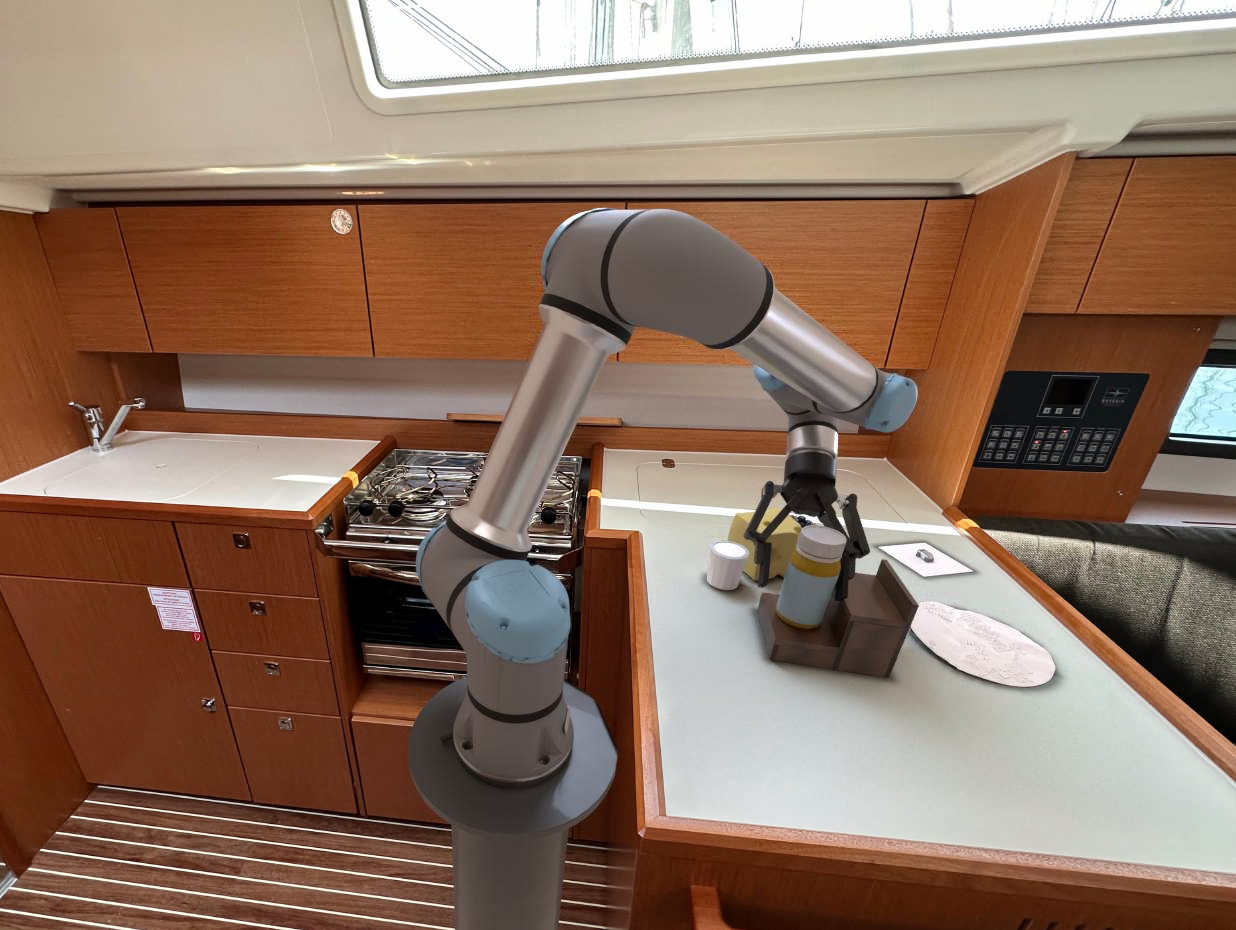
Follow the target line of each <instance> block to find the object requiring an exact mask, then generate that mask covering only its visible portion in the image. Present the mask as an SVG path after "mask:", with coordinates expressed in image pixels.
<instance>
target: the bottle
mask: <svg viewBox="0 0 1236 930" xmlns="http://www.w3.org/2000/svg"><path fill="white" fill-rule="evenodd" d="M817 525H818V524H817ZM817 525H810V526H805V527H803V528H802V530H801V532H800V536H799V539H798V544H797V546H796V549H795V550H794V552H793V553H792V554H791V557H790V560H789V563H788V567H787V570H786V574H785V577H783V581H782V584H781V588H780V591H779V594H778V595H779V599H778V602H777V607H776V612H777V614H778V616H779V617H780V619H781V620H782V621H783V622H785V623H786V624H788V625H790V626H792V627H795V628H799V629H805V630H808V629H814V628H816V627H819V626H821V625H822V623H823V621H824V619H825V616H826V613H827V610H828V607H829V604H830V600H831V597H832V594H833V591H834V588H835V585H836V582H837V579H838V576H839V573H840V570H841V564H840V559H841V557H842V553H843V551H844V548H845V545H846V537H845V536H844V535H843V534H842V533H840V532H838V531H836V530H834V529H831V528H828V527H824V525H819V526H817Z"/></svg>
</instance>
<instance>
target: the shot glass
mask: <svg viewBox="0 0 1236 930" xmlns="http://www.w3.org/2000/svg"><path fill="white" fill-rule="evenodd" d="M748 556H749V551H748V549H746V548H745V547H744V546H742V545H740V544H738V543H734V542H730V541H728V540H716V541H714V542H712V543H711V544H710V546H709V553H708V561H707V562H708V563H707V575H706V581H707V583H708V584H709V585H710V586H712V587H714V588H716V589H719V590H723V591H732V590H735V589H737V588H738V587H739V584H740V581H741V578H742V575H743V572H744V571H743V570H744V567H745V564H746V561H747V559H748Z"/></svg>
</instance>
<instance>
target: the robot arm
mask: <svg viewBox="0 0 1236 930" xmlns="http://www.w3.org/2000/svg"><path fill="white" fill-rule="evenodd" d="M540 266H541V267H540V273H541V276H542V279H543V281H542V285H543V289H544V293H543V295H542V297H541V300H540V302H539V305H538V307H537V310H538V312H539V315H540V319H541V321H542V329H541V332H540V334H539V336H538V339H537V341H536V343H535V345H534V348H533V350H532V352H531V355H530V356H529V360H528V362H527V364H526V366H525V368H524V371H523V374H522V375H521V378H520V380H519V383H518V385H517V387H516V389H515V392H514V394H513V396H512V398H511V400H510V403H509V406H508V408H507V410H506V412H505V414H504V417H503V419H502V422H501V424H500V426H499V429H498V431H497V433H496V436H495V438H494V440H493V442H492V444H491V447H490V449H489V452H488V454H487V456H486V458H485V461H484V463H483V465H482V468H481V469H480V472H479V475H478V477H477V479H476V481H475V484H474V486H473V489H472V490H471V493H470V495H469V497H468V500H467V502H466V503H465V504H462V505H459V506H457V507H454V508H452V509H451V511H450V512H449V514H448V516H447V519H446V520H444V521H442V522H440V523H439V526H437V527H433V528H431V529H430V530H429V531H428V532H427V534H426V535H425V536H424V537H423V539H422V540H421V542H420V543H419V547H418V548H417V549H418V550H417V552H416V557H415V572H416V576H417V579H418V582H419V584H420V586H421V590H422V592H423V593H424V595H425V596H426V599H427V600H428V602H430V603H431V605H432V606H434V608H435V609H436V611H437V613H438V614H439V615H440V617H441V619H442V620H443V621H444V622H445V624H446V626H447V627H448V628H449V630H450V631H451V633H452V634H453V635H454V637H455V639H456V640H457V642H458V643H459V644H460V646H461V648H462V649H463V651H464V654H465V657H466V677H467V693H466V695H465V697H464V700H463V702H462V705H461V707H460V709H459V712H458V714H457V717H456V720H455V723H454V728H453V731H452V732H450V733H447V734H445V735H442V736H441V741H442V742H445V741H448V740H450V739H454V750H455V753H456V756H457V758H458V760H459V762H460V763H461V765H462V766H463V767H464V768H465V769H466V771H467V772H469V773H470V774H471V775H472V776H474V777H475V778H477V779H478V780H480V781H482V782H484V783H486V784H489V785H492V786H496V787H500V788H508V789H520V788H528V787H532V786H536V785H539V784H541V783H544V782H546V781H548V780H550V779H551V778H553V777H554V776H555V775H557V774H558V773H559V772H560V771H561V770H562V769H563V768H564V767H565V765H566V764H567V762H568V760H569V758H570V756H571V753H572V748H573V738H574V729H573V724H572V720H571V717H570V713H571V710H570V707H569V706H568V708H567V705H566V702H565V699H564V696H563V685H564V680H565V675H566V674H565V673H566V664H567V654H568V642H569V634H570V631H571V626H572V625H571V624H572V623H571V614H570V613H571V612H570V599H569V595H568V592H567V590H566V587H565V586H564V584H563V583H562V581H561V580H560V579H559V578H558V577H557V575H555V574H554V573H552V572H551V571H550V570H548V569H547V568H546V567H543V566H542V565H540V564H535V565H531V564H530V562H529V561H527V559H528V556H529V554H530V552H531V550H532V547H533V543H532V539H531V538H530V535H529V533H528V530H529V527H530V525H531V523H532V522H533V521H532V520H533V518H534V516H535V514H536V513H537V510H538V508H539V505H540V503H541V501H542V499H543V497H544V495H545V493H546V490H547V489H548V486H549V484H550V482H551V479H552V477H553V475H554V473H555V470H556V469H557V467H558V465H559V462H560V460H561V458H562V456H563V454H564V451H565V449H566V447H567V445H568V444H569V441H570V439H571V436H572V434H573V432H574V430H575V428H576V426H577V424H578V422H579V419H580V418H581V415H582V413H583V410H584V409H585V406H586V405H587V402H588V400H589V398H590V396H591V394H592V391H593V389H594V388H595V385H596V383H597V381H598V379H599V376H600V375H601V372H602V369H603V368H604V366H605V363H606V361H607V360H608V359H609V358H610V356H612V355H614V354H617V353H619V352H622V351H624V350H626V349H627V346H628V345H629V342H630V340H631V338H632V336H633V334H634V332H635V329H636V327H637V328H643V329H648V330H653V331H656V332H657V331H658V332H662V333H666V334H671V335H675V336H679V337H683V338H686V339H689V340H693V341H695V342H696V343H699V344H701V345H702V346H704V347H706V348H708V349H710V350H714V351H727V350H730V351H732V352H733V353H735V354H736V355H738V356H739V357H741V358H743V359H745V360H746V361H748V362H750V363H752V364H753V374H754V377H755V379H756V380H757V382H758V383H759V384H760V387H761V389H762V390H763V391H764V392H766V393H767V394H768V395H769V396H770V398H772V400H774V402H775V403H776V404H777V405H778V406H779V407H780V408H781V410H782V411H783V412H784V413H785V415H787V418H788V424H787V440H786V448H785V449H786V450H785V459H786V460H785V462H784V472H783V484H775V483H774V482H773V481H772V480H768V481H766V482H765V484H764V485H763V487H762V488H761V495H760V496H761V497H760V500H759V503H758V505H757V507H756V509H755V510H754V512H755V513H754V515H753V517H752V519H751V521H750V523H749V525H748V527H747V529H746V531H745V533H744V539H746V540H750V541H752V542H753V544H754V546H755V552H754V563H755V564H759V565H760V570H759V580H757V587H758V588H764V587H766V586H768V584H769V581H770V579H769V570H770V559H771V547H772V543H770V542H766V540H767V539H768V538H769V536H770V535H771V534H772V533H773V532H774V531H775V530H776V528H777V527H778V526H779V525H780V524H781V523H782V522H783V520H784V519H785V518H786V517H787V516H788V515H791V513H794V515H797V516H804V515H806V516H808V517H812V518H817V519H818V521H819V522H820V523H821V524H822V526H824V527H828V528H831V529H834V530H836V531H838V532H840V533H842V534H843V535H844V536H845V537H846V545H845V548H844V551H843V553H842V556H841V559H840V564H841V570H840V573H839V576H838V579H837V582H836V588H835V601H842V600H844V599H846V598H848V581H849V580H851V579H853V578H854V576H855V573H856V564H857V563H856V561H857V559H859V560H860V559H863V558H864V557H866V556H868V555H869V554H871V548H870V545H869V542H868V539H867V536H866V532H865V529H864V527H863V523H862V520H861V518H860V514H859V511H858V495H857V494H856V493H850V494H849V495H846V494H841V493H839V492H838V491H837V488H836V483H837V470H838V469H837V464H838V462H837V459H838V449H839V424H840V421H844V422H847V423H850V424H852V425H856V426H859V427H862V428H864V429H865V430H873V431H877V432H882V433H891V432H894V431H897V430H898V429H900V428H901V427H902V426H903V425H904V424H905V423H906V422H907V421H908V420H909V418H910V416H911V414H912V412H913V411H914V409H915V407H916V404H917V401H918V396H919V395H918V393H919V392H918V386H917V383H916V382H915V381H914V380H913V379H911V378H908V377H905V376H903V375H899V374H898V373H896V372H895V373H894V372H893V373H890V372H885V371H883V370H881V369H879V368H878V367H877V366H875V365H874V364H873V363H871V362H870V361H868V360H867V359H866V358H864V357H863V356H862V355H860V354H859V353H858V352H857V351H855V350H854V348H852V347H850V346H849V345H848V344H846V343H845V342H844V341H843V340H841V338H839V337H838V336H837V335H836V334H834V333H833V332H831V331H830V330H829V329H828V328H826V327H825V326H824V325H822V324H821V323H820V322H819V321H818V320H816V319H815V318H814V317H812V316H811V315H810V314H808V313H807V312H806V311H805V310H803V309H802V308H801V307H800V306H798V305H797V304H796V303H795V302H793V301H792V300H791V299H790V298H788V297H787V296H786V295H785V294H783V293H782V292H781V291H779V290H778V289H777V288H776V283H775V278H774V275H773V273H772V272H771V271H770V269H769V268H768V267H767V266H766V265H764V264H763V263H762V262H761V261H760V260H758V258H756V257H755V256H753V254H751V253H750V252H749V251H747V250H746V249H744V248H743V247H742V246H740V245H739V244H738V243H736V242H735V241H734V240H732V239H731V238H729V236H727V235H726V234H724V233H722V232H721V231H719V230H717V229H716V228H714V227H713V226H711V225H710V224H708V223H706V222H705V221H703V220H700V219H699V218H697V217H695V216H693V215H690V214H688V213H685V212H682V211H678V210H674V209H668V208H653V209H617V208H613V207H601V208H600V207H599V208H593V209H591V210H587V211H583V212H579V213H576V214H574V215H572V216H571V217H569V218H567V219H566V220H565V221H563V222H562V223H561V224H560V225H558V227H557V228H555V230H554V232H553V233H552V234H551V236H550V238H549V239H548V241H547V243H546V245H545V248H544V251H543V254H542V259H541V265H540ZM778 494H779V495H780V496H781V497H782V499H783V501H784V502H785V505H784V506H783V508H781V511H780V512H779V514H778V515H777V516H776V517H775V518H774V519H773V520H772V521H771V523H770V524H769V525H768V526H767V527H766V528H765V529H764V531H763V532H762V533H761V534H760V533H758V532H757V529H758V526H759V524H760V522H761V520H762V518H763V516H764V514H765V512H766V510H768V508H769V506H770V504H771V502H772V499H775V498H776V496H777V495H778ZM834 503H837V504H838V508H839V509H840V510H841V514H842V518H843V522H844V525H845V528H846V530H845V528H844V526H843V525H842V523H841V521H840V519H839V518H838V516H837V512H836V510H835V508H834V506H833V504H834Z"/></svg>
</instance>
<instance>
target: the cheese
mask: <svg viewBox="0 0 1236 930" xmlns="http://www.w3.org/2000/svg"><path fill="white" fill-rule="evenodd" d="M781 510H782V508H780V507H775V508H771V509H767V510H766V512H765V514H764V516H763V518H762V520H761V522H760V524H759V526H758V529H757V532H758V533H760V534H761V533H762V532H763V531H764V529H765V528H766V527H767V526H768V525H769V524H770V523H771V521H772V520H773V519H774V518H775V517H776V516H777V515H778V514H779V512H780V511H781ZM754 513H755V511H748V512H736V513H735V515H734V517H733V519H732V522H731V524H730V528H729V531H728V537H727V541H730V542H734V543H738V544H740V545H742V546H744V547H745V548H746V549H748V551H749V556H748V559H747V561H746V564H745V567H744V570H743V572H744V573H745V574H746V575H747V576H749V577H750V579H752V580H753V581H754V582H755V581H759V570H760V565H759V564H755V563H754V552H755V546H754V544H753V542H752V541H750V540H746V539H744V533H745V531H746V529H747V527H748V525H749V523H750V521H751V519H752V517H753V515H754ZM790 515H791V514H789V515H788V516H787V517H786V518H785V519H784V520H783V522H782V523H781V524H780V525H779V526H778V527H777V528H776V530H775V531H774V532H773V533H772V534H771V535H770V536H769V538H768V539H767V540H766V542H770V543H772V547H771V559H770V570H769V580H770V579H773V578H775V577H776V576H780V577H782V578H785V574H786V570H787V567H788V563H789V560H790V557H791V554H792V553H793V552H794V550H795V549H796V546H797V544H798V539H799V536H800V532H801V530H802V527H801V525H800V524H799V523H798V522H796V521H795V520H794V519H793V518H792V517H791V516H790Z"/></svg>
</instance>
